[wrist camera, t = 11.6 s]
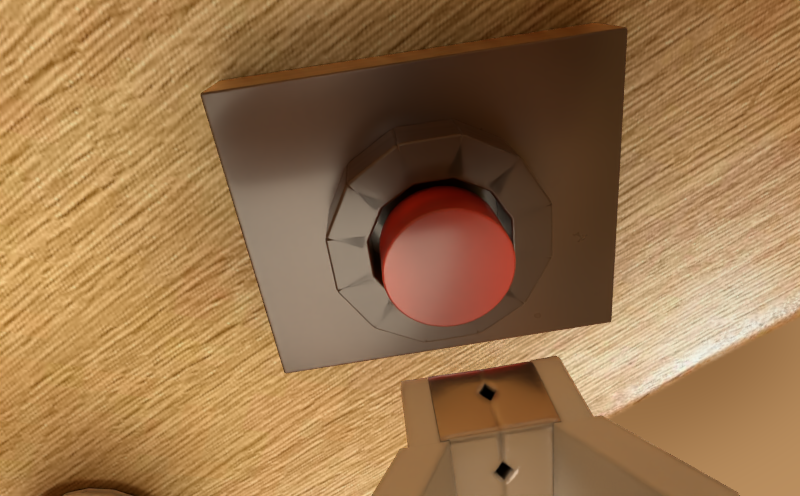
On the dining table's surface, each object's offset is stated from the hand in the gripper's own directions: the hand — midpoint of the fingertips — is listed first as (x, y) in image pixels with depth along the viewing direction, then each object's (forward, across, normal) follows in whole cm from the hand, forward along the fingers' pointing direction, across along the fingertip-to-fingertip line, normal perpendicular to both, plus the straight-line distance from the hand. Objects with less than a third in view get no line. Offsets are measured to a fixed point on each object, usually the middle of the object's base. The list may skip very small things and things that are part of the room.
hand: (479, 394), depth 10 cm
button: (+6, 0, 0) cm, 6 cm away
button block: (+10, 0, 0) cm, 10 cm away
